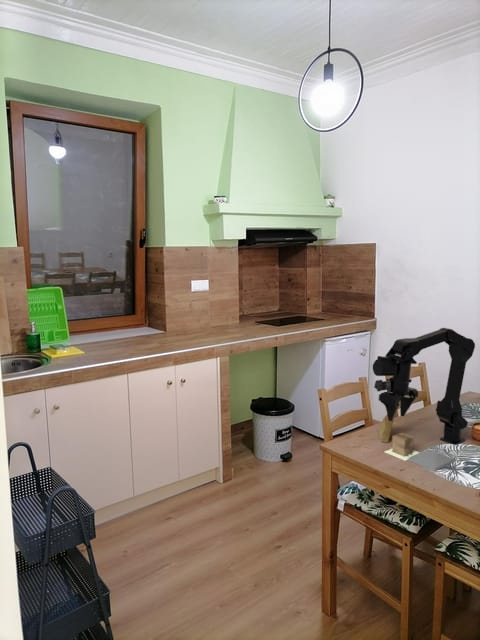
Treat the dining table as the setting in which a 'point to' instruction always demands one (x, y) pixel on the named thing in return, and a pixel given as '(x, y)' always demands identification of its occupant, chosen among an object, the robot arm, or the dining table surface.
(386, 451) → the pale cream tile
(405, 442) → the block
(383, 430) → the rock
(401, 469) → the dining table surface
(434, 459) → the slate board
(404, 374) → the robot arm
